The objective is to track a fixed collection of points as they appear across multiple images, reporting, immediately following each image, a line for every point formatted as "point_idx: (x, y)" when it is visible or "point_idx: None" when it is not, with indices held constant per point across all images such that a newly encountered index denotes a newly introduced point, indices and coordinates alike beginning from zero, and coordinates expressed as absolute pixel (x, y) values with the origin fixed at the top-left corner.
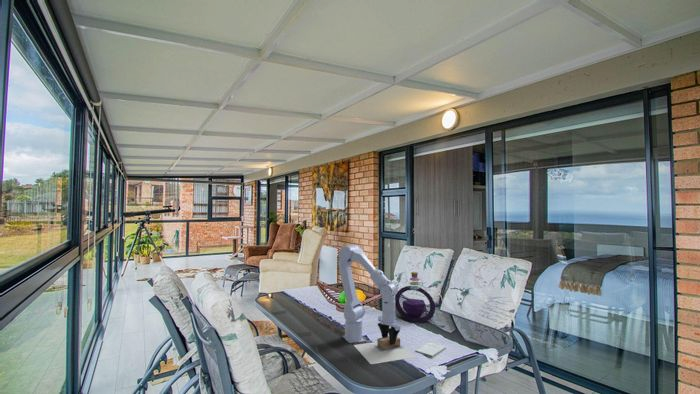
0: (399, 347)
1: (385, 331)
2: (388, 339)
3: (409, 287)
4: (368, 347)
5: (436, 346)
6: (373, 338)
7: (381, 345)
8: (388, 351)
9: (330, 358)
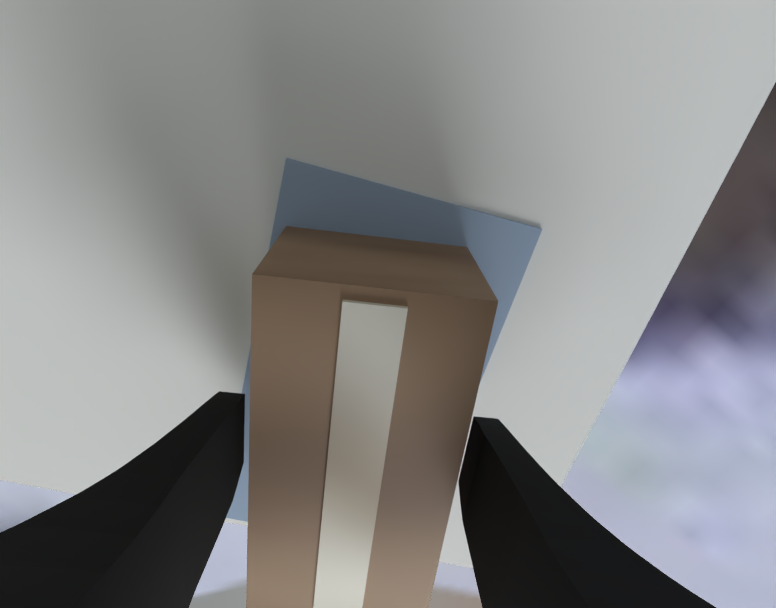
0: None
1: (507, 589)
2: (324, 453)
3: None
4: (560, 93)
5: None
6: (773, 417)
7: (330, 253)
8: (216, 279)
9: None
